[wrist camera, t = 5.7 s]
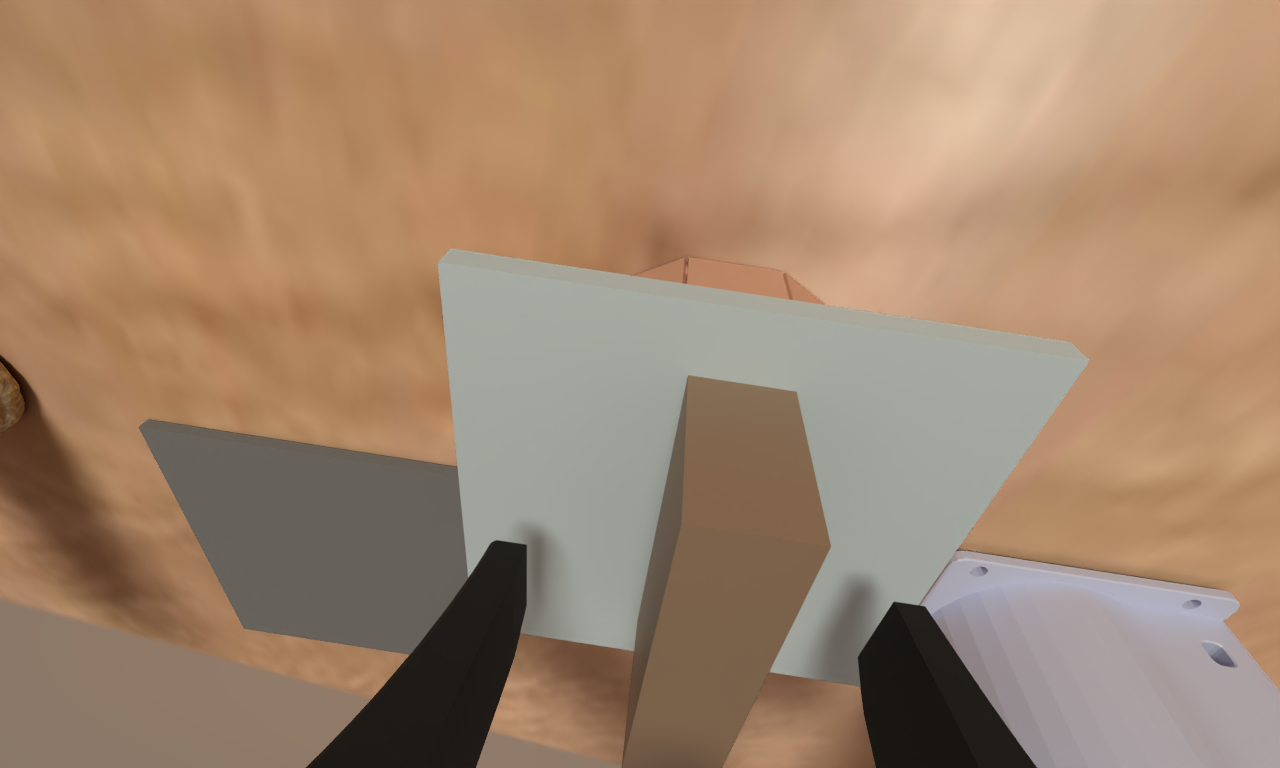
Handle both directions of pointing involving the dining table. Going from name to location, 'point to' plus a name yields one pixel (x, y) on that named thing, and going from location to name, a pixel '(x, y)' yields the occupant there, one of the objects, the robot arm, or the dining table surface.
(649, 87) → the dining table surface
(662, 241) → the dining table surface
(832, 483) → the lid
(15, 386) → the sprinkles bottle
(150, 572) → the dining table surface
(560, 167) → the dining table surface
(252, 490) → the mat
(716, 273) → the bowl
